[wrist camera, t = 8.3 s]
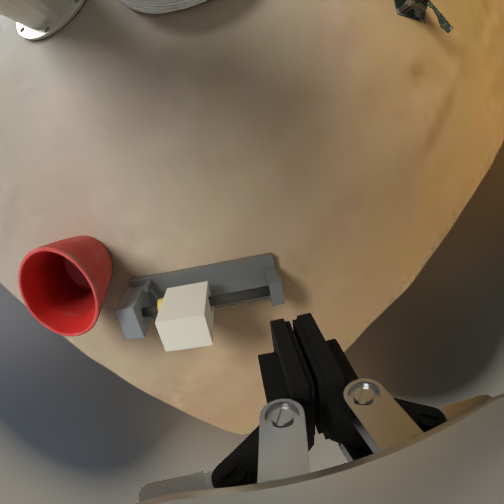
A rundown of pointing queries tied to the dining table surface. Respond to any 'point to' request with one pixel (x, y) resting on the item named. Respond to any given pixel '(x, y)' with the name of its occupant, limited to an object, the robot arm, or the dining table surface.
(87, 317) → the flower pot
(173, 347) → the white sliding block
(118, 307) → the grey slider rail
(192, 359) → the dining table surface
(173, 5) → the cable
